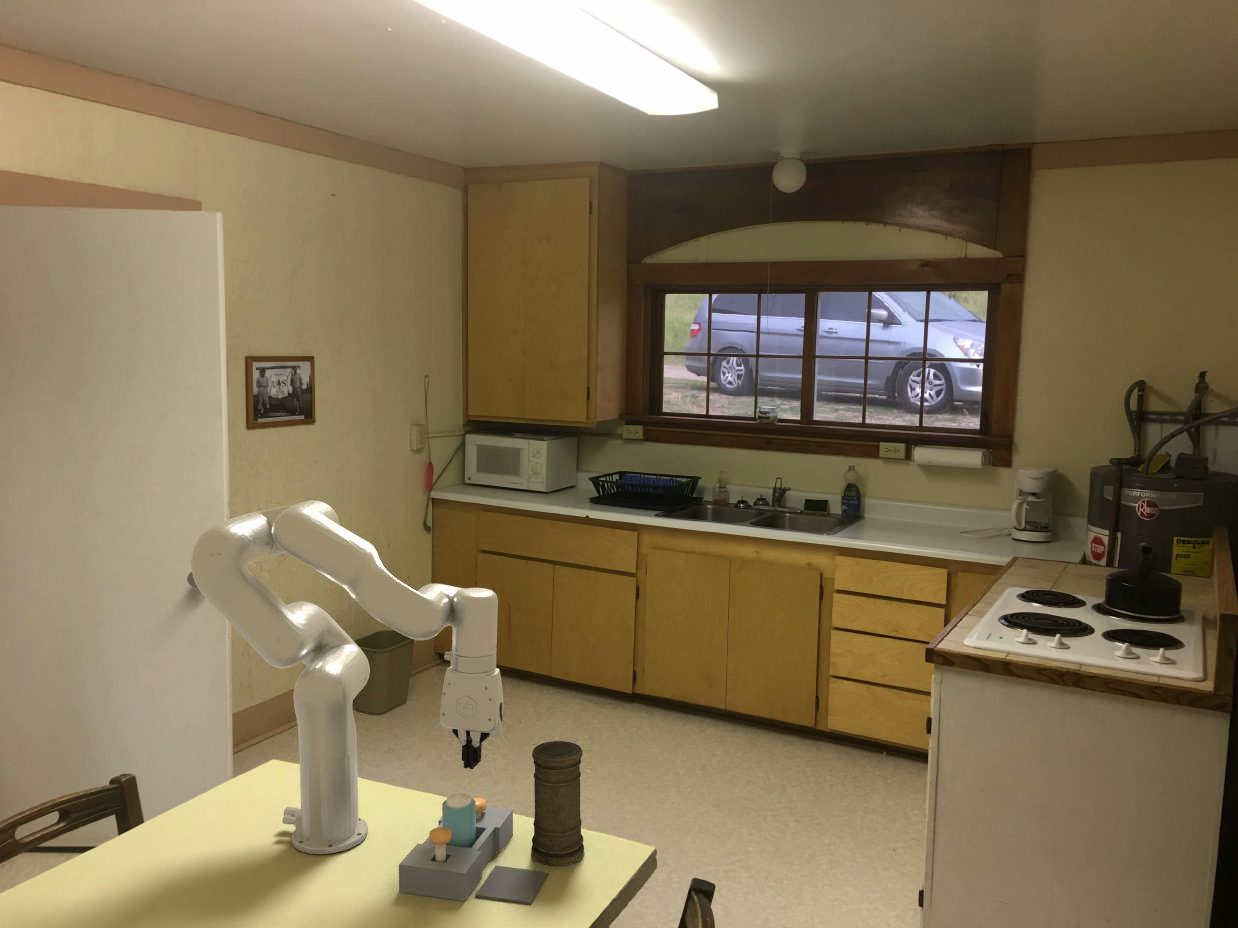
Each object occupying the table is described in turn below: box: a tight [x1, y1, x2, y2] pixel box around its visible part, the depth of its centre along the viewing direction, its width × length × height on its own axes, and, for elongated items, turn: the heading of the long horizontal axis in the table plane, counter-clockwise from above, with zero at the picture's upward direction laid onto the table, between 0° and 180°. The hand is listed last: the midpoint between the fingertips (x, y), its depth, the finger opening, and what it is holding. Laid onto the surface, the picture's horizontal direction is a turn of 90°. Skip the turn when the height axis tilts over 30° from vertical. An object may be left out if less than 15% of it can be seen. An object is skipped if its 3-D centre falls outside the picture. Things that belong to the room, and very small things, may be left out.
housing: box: [398, 806, 514, 902], centre depth 154 cm, size 11×22×4 cm, turn 167°
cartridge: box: [441, 793, 476, 848], centre depth 154 cm, size 5×5×11 cm
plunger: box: [428, 826, 452, 863], centre depth 147 cm, size 3×3×6 cm
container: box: [530, 740, 585, 867], centre depth 157 cm, size 9×9×18 cm
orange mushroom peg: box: [472, 797, 487, 819], centre depth 161 cm, size 3×3×6 cm
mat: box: [474, 865, 549, 906], centre depth 147 cm, size 9×9×1 cm
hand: (471, 765), depth 161 cm, fingers closed
